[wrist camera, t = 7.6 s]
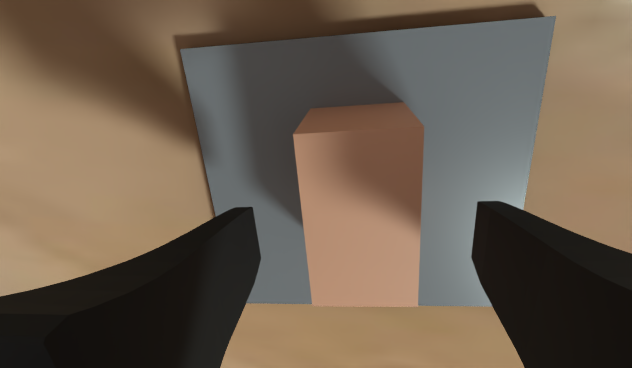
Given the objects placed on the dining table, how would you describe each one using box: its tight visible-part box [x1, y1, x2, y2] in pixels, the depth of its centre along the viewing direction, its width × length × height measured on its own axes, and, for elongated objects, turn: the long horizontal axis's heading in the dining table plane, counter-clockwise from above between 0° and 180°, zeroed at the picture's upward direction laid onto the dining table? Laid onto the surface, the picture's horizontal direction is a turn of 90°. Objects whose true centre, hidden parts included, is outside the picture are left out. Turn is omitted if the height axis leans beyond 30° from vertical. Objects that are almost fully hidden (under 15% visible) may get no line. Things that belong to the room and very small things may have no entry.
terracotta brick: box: [293, 102, 424, 307], centre depth 12 cm, size 4×6×4 cm, turn 5°
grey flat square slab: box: [180, 16, 556, 306], centre depth 14 cm, size 13×12×1 cm
